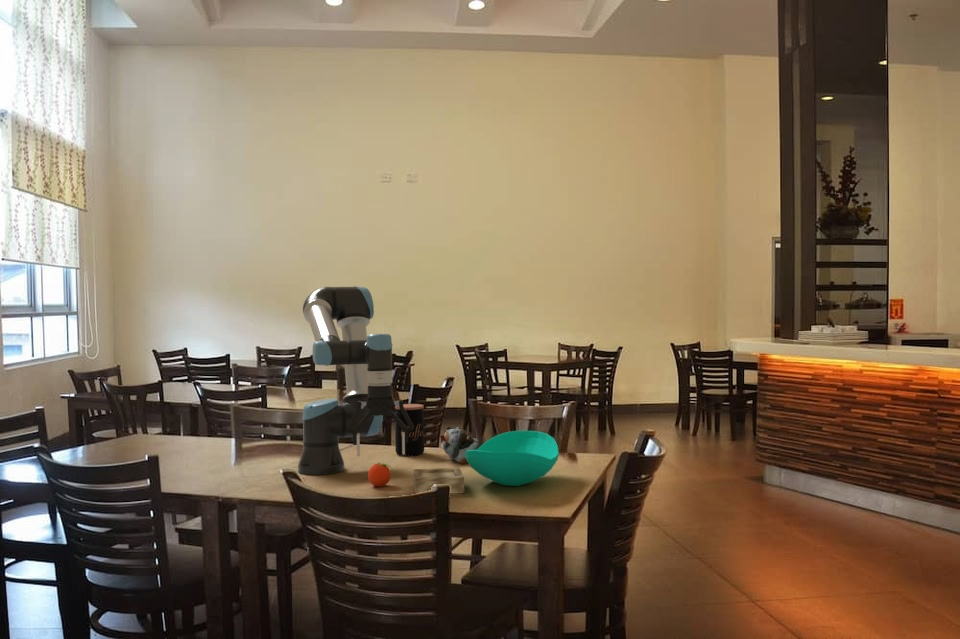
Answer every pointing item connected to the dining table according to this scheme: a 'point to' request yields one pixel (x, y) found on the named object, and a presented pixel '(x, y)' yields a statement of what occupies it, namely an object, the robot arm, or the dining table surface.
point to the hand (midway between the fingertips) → (381, 454)
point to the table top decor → (515, 457)
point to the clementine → (379, 474)
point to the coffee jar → (414, 436)
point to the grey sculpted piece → (458, 444)
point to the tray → (438, 479)
